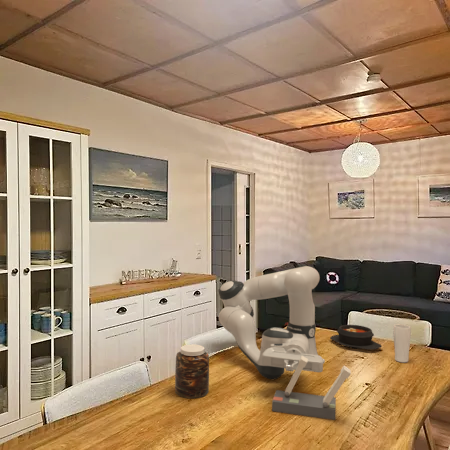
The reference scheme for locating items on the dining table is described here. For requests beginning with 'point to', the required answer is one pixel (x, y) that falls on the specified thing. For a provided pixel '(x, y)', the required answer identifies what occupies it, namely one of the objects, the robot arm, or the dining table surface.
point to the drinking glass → (402, 342)
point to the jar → (192, 372)
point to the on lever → (336, 385)
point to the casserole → (355, 337)
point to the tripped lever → (296, 375)
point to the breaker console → (303, 405)
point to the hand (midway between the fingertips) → (289, 368)
